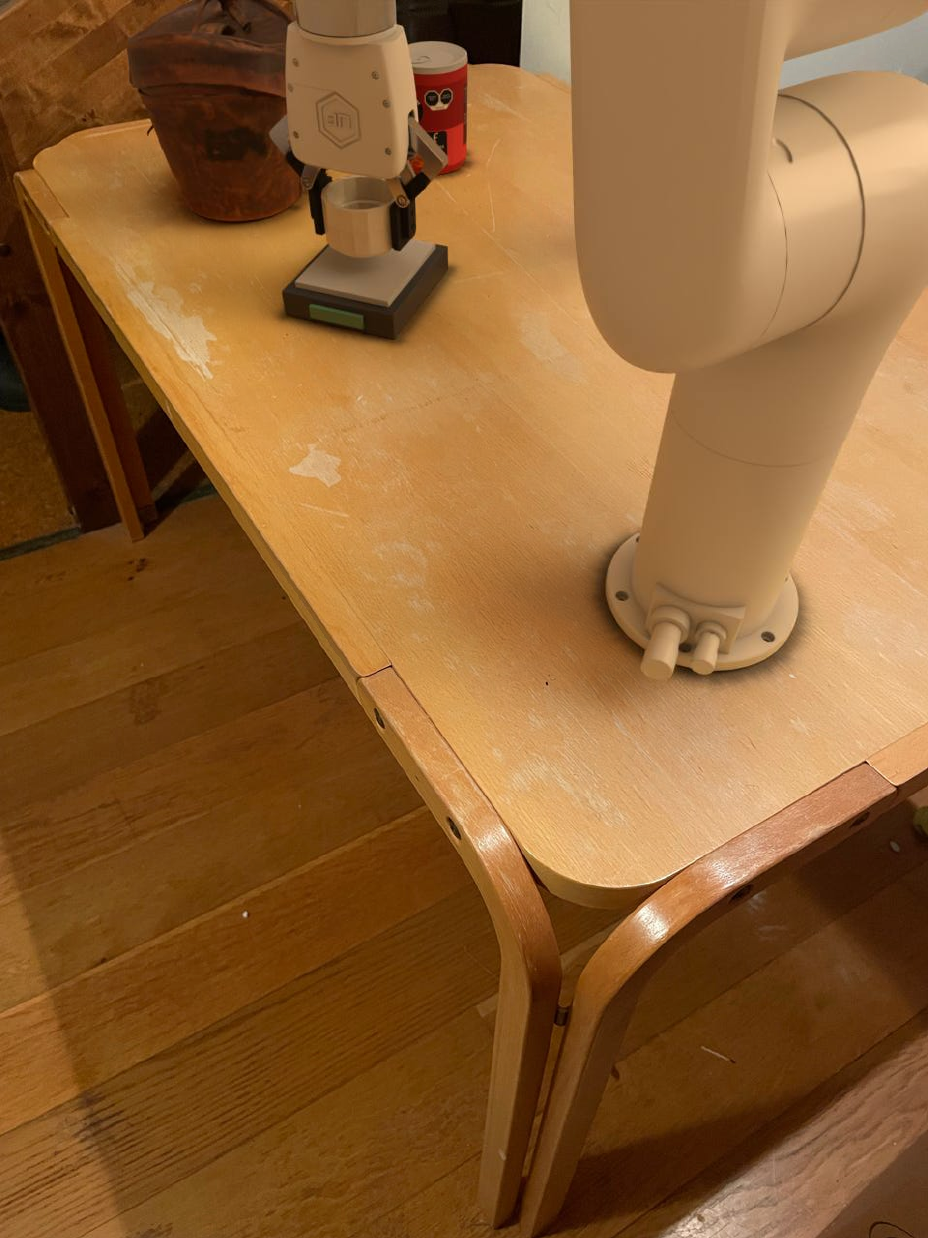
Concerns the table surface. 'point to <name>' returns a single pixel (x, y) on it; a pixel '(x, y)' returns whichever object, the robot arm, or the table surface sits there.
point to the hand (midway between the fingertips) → (364, 234)
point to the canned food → (441, 98)
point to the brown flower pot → (219, 103)
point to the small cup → (358, 216)
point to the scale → (366, 287)
